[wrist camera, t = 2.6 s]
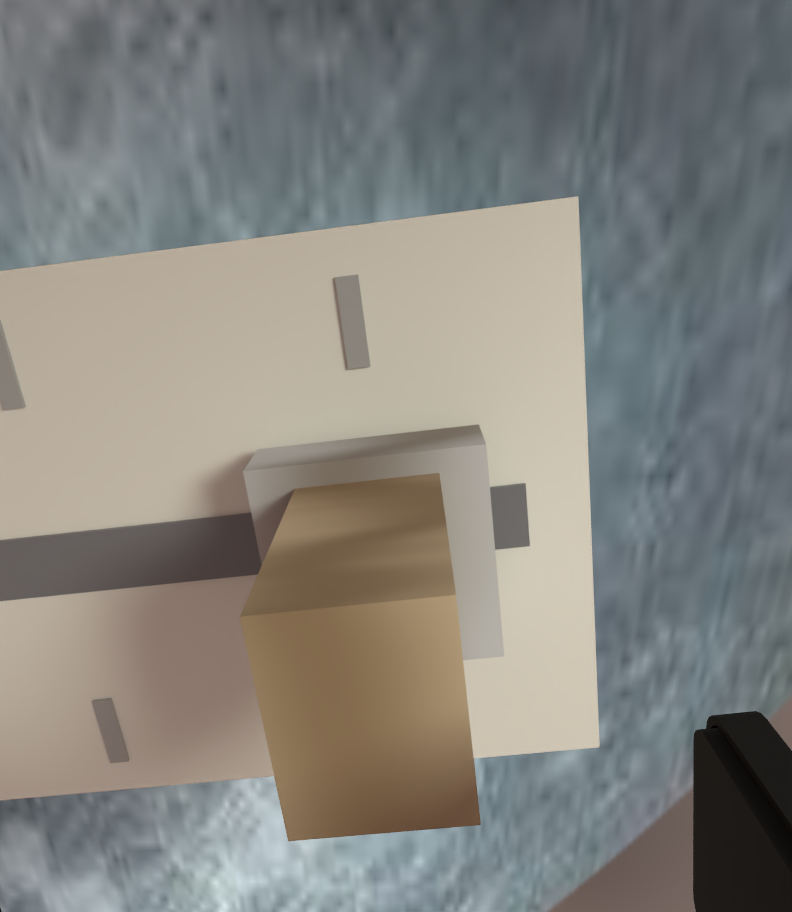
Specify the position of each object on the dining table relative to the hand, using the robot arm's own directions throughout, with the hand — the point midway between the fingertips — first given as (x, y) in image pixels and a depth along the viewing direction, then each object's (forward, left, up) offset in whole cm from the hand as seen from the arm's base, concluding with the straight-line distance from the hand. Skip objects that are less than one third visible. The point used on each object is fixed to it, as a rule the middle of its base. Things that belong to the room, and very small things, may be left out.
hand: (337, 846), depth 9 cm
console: (+8, -1, -12) cm, 14 cm away
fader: (0, -1, -8) cm, 8 cm away
